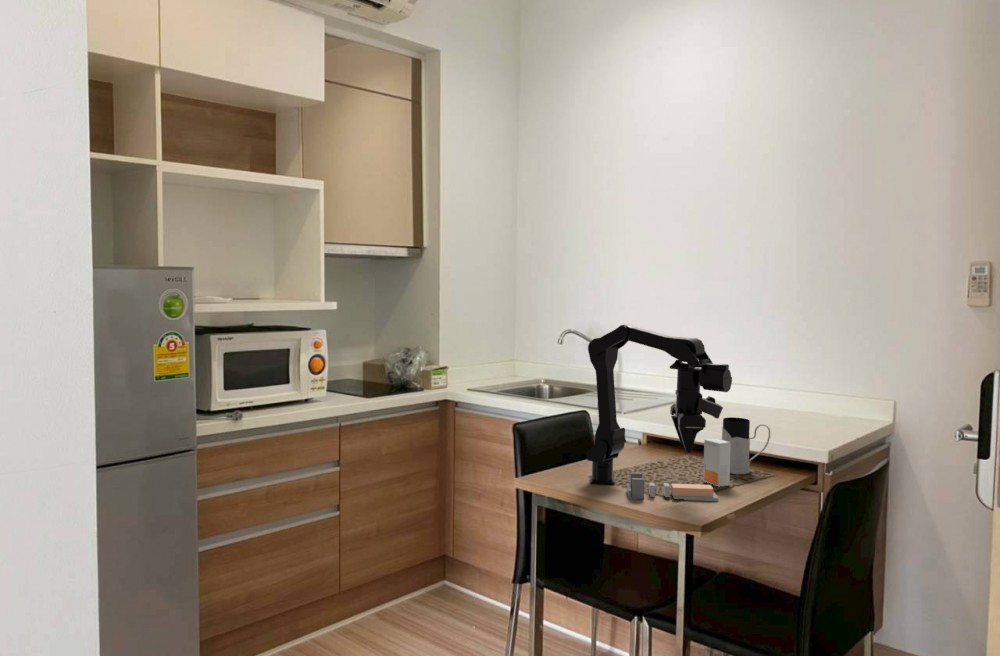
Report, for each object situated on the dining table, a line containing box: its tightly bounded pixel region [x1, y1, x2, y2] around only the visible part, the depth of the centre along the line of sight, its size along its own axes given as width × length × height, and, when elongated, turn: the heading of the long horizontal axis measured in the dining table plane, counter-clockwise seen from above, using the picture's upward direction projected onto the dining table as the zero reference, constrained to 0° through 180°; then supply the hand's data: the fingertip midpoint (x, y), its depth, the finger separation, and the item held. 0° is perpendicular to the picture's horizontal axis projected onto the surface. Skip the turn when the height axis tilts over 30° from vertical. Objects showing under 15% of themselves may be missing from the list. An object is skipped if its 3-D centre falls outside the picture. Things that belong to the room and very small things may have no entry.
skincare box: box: [702, 437, 731, 488], centre depth 213 cm, size 6×4×12 cm
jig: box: [626, 471, 671, 500], centre depth 201 cm, size 7×10×5 cm
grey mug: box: [721, 416, 771, 475], centre depth 228 cm, size 9×14×15 cm, turn 87°
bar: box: [670, 483, 714, 497], centre depth 200 cm, size 4×10×2 cm, turn 85°
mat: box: [670, 491, 719, 502], centre depth 199 cm, size 6×11×1 cm, turn 84°
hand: (685, 448), depth 199 cm, fingers open, 9 cm apart
